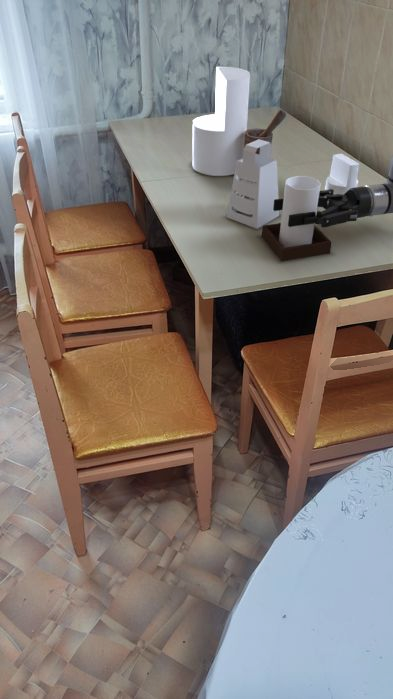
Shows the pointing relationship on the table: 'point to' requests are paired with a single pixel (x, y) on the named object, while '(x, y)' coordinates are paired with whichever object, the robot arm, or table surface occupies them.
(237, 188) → the grater
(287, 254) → the tray
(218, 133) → the cylinder
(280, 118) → the mortar and pestle
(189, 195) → the table surface
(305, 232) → the cup
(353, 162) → the base with upright slab
